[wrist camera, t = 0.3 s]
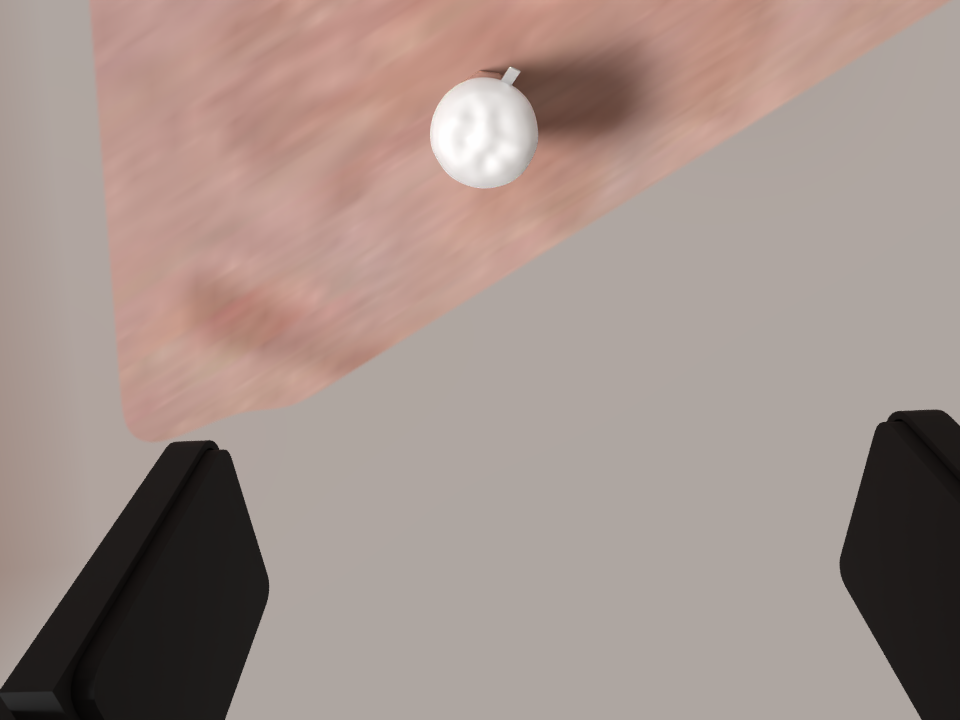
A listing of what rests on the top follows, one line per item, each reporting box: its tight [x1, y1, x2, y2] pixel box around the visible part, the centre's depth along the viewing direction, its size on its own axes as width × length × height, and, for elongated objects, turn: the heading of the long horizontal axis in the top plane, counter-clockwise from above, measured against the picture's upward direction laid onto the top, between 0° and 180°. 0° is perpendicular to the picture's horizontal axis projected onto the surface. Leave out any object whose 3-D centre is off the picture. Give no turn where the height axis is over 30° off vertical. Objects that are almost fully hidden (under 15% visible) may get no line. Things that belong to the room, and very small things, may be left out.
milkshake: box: [430, 66, 538, 188], centre depth 31 cm, size 5×5×10 cm
